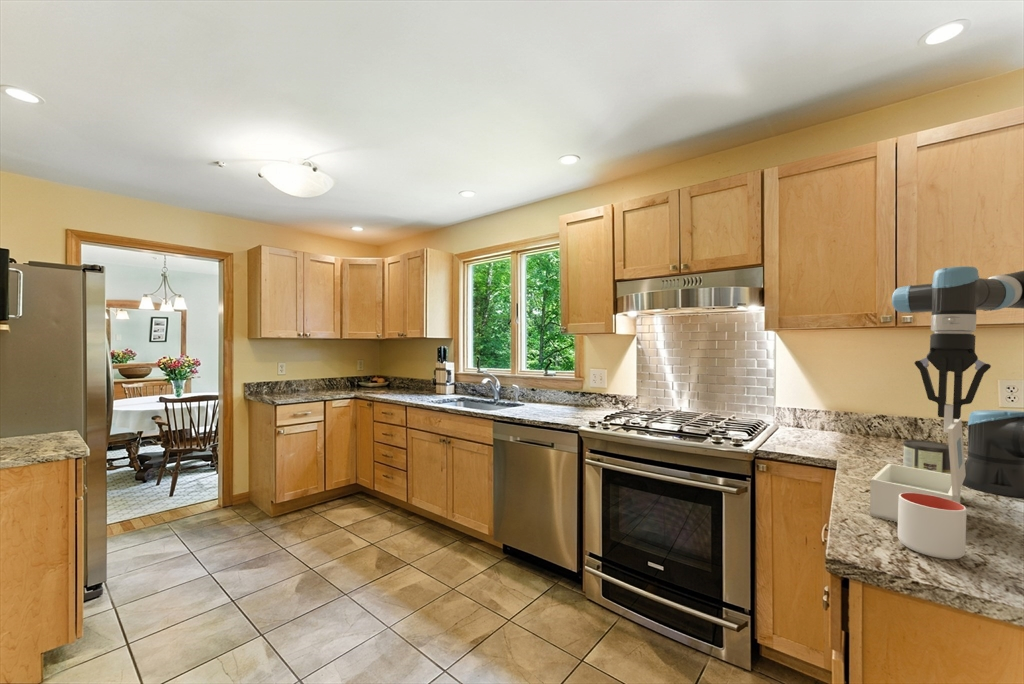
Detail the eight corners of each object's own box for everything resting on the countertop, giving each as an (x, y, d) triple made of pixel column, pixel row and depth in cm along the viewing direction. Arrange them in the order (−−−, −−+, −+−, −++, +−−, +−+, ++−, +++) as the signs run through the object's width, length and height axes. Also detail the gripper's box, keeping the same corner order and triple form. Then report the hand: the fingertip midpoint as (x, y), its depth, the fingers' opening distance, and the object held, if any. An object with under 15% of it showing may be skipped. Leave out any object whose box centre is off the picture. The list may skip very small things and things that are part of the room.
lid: (947, 428, 95) (953, 428, 95) (956, 417, 110) (961, 417, 109) (952, 494, 95) (958, 495, 94) (961, 474, 109) (966, 475, 109)
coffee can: (933, 489, 126) (935, 440, 126) (962, 502, 116) (964, 449, 116) (892, 486, 128) (894, 438, 128) (917, 498, 118) (919, 447, 118)
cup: (949, 566, 82) (951, 514, 82) (886, 543, 92) (888, 495, 91) (975, 556, 86) (976, 506, 86) (912, 535, 96) (914, 490, 95)
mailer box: (869, 515, 106) (870, 479, 105) (887, 495, 120) (888, 463, 120) (951, 536, 95) (952, 495, 95) (959, 511, 109) (961, 476, 109)
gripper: (912, 332, 105) (909, 428, 106) (992, 333, 95) (988, 439, 96) (917, 333, 110) (914, 425, 110) (994, 333, 100) (989, 435, 101)
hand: (948, 431), depth 103 cm, fingers closed
